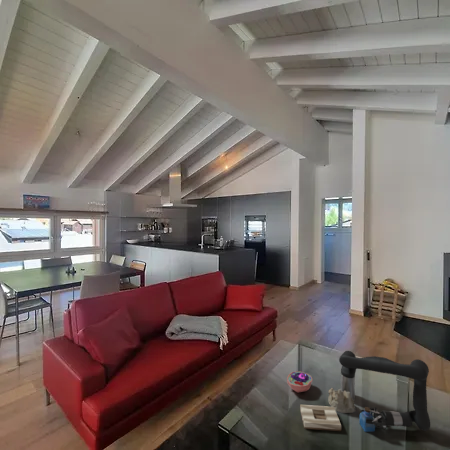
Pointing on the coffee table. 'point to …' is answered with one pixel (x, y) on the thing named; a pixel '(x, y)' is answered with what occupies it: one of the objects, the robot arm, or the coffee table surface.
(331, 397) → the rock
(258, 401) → the coffee table surface
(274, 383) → the coffee table surface
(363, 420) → the perfume bottle
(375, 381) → the coffee table surface
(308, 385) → the cell model
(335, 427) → the socket plinth
